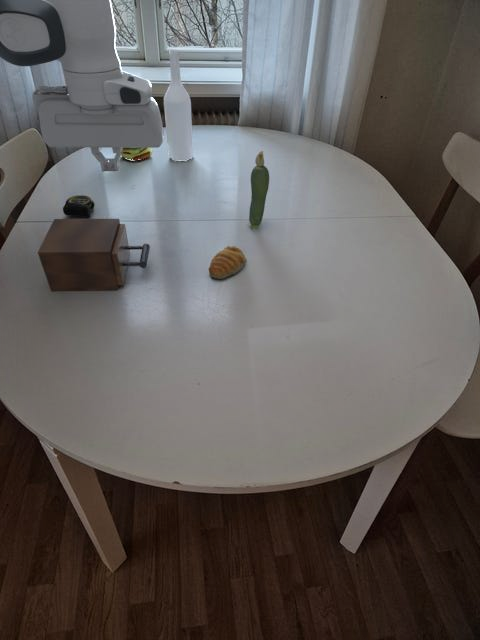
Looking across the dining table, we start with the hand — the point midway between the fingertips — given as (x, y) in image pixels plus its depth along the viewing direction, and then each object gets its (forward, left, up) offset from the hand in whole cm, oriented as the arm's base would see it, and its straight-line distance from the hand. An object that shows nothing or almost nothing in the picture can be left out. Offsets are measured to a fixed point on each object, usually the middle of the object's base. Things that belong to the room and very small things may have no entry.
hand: (110, 170), depth 78 cm
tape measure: (-15, +25, -23) cm, 38 cm away
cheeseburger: (-6, +62, -23) cm, 67 cm away
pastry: (+21, +1, -23) cm, 32 cm away
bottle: (+9, +62, -23) cm, 67 cm away
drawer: (-4, 0, -22) cm, 23 cm away
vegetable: (+30, +18, -23) cm, 42 cm away
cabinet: (-8, 0, -23) cm, 25 cm away
